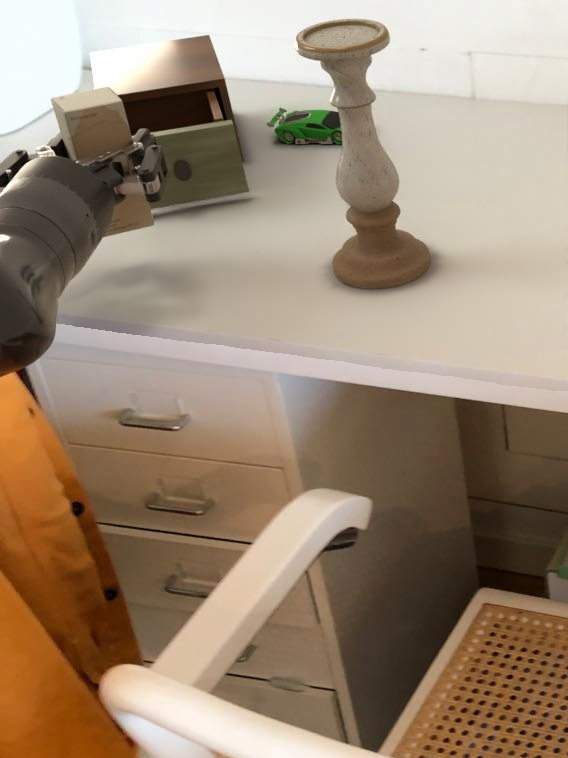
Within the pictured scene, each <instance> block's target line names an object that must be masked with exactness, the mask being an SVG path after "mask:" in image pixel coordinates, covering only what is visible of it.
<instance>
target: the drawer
mask: <svg viewBox="0 0 568 758" xmlns="http://www.w3.org/2000/svg"><path fill="white" fill-rule="evenodd" d="M123 106H124V109H125V113H126V117H127V121H128V125H129V129H130V133H131V136H132V139H133V138H134V136H135V135H136V133H137V132H138V130H139V129H149V131H150V134H154V136H155V139H156V143H157V145H160V146H162V148H163V152H164V156H165V159H166V163H167V167H168V171H169V174H170V176H169V179H168V181H167V184H166V187H165V190H164V193H163V195H162V198H161V200H160V201H158V202H154V203H150V202H149V205H150V209H151V210H153V209H158V208H163V207H164V208H165V207H170V206H176V205H182V204H187V203H192V202H193V203H194V202H199V201H203V200H209V199H214V198H220V197H227V196H232V195H238V194H243V193H249V192H250V188H249V185H248V181H247V176H246V173H245V168H244V163H243V162H242V159H241V155H240V151H239V146H238V142H237V138H236V134H235V130H234V126H233V122H232V120H226V121H224V119H223V116H222V113H221V110H220V107H219V104H218V101H217V98H216V95H215V92H214V89H213V88H212V89H205V90H199V91H193V92H186V93H180V94H174V95H167V96H161V97H155V98H148V99H142V100H136V101H129V102H123Z"/></svg>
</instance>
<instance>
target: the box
mask: <svg viewBox="0 0 568 758" xmlns="http://www.w3.org/2000/svg"><path fill="white" fill-rule="evenodd" d="M50 101H51V105H52V108H53V112H54V115H55V118H56V121H57V125H58V128H59V132H61V135H62V139H63V142H64V146H65V149H66V152H67V156H68V159H70V160H73V161H79V160H81V159H83V158H85V157H87V158H92V157H94V156H96V155H98V154H100V153H102V152H104V151H106V150H107V149H109V148H114V149H118V150H121V149H123V148H125V147H127V146H128V145H129V143H130V142H131V140H132V136H131V133H130V129H129V125H128V121H127V117H126V113H125V109H124V106H123V102H122V100H121V99H120V98H119V96H118V95H117V94H116V93H115V92H114V91H113V90H112V89H111V88H110V87H102V88H97V89H95V88H93V89H87V90H81V91H76V92H72V93H70V94H64V95H59V96H54V97H51V98H50ZM128 164H129V167H130V171H131V170H133V169H134V165H133V162H132V158H130V159H129V161H128ZM108 165H110V166H111V167H112V165H111V163H109V164H108ZM154 225H155V220H154V217H153V214H152V209H150V205H149V202H147V201H146V198H145V196H143V195H142V194H130V195H127V197H126V199H125V200H124V201H123V202H121V203H119V204H117V205H116V206H115V207H114V211H113V216H112V220H111V224H110V226H109V229H108V230H107V232H106V234H105V235H104V237H103V238H107V237H110V236H111V237H112V236H114V235H115V236H116V235H119V234H123V233H128V232H132V231H136V230H140V229H144V228H148V227H152V226H154Z"/></svg>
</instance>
